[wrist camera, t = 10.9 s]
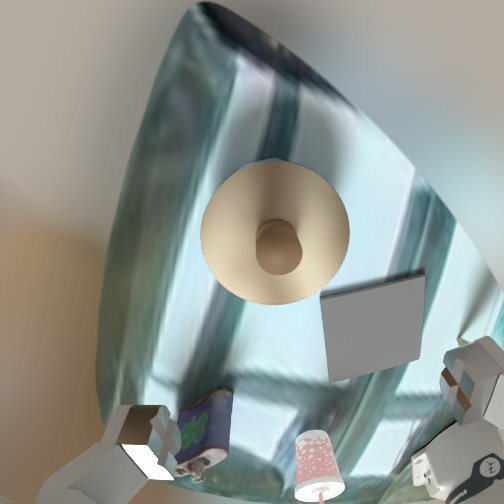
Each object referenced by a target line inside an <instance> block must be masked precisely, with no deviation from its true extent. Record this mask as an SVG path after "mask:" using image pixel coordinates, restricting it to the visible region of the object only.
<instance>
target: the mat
mask: <svg viewBox="0 0 504 504" xmlns="http://www.w3.org/2000/svg"><path fill="white" fill-rule="evenodd" d="M424 297H425V275H424V274H423V273H422V274H418V275H414V276H411V277H407V278H403V279H399V280H394V281H390V282H386V283H382V284H378V285H374V286H369V287H365V288H361V289H356V290H352V291H347V292H343V293H338V294H333V295H329V296H324V297H320V304H321V312H322V320H323V328H324V337H325V346H326V355H327V364H328V374H329V381H330V383H332V382H337V381H341V380H345V379H350V378H354V377H358V376H362V375H366V374H370V373H373V372H377V371H381V370H384V369H388V368H391V367H395V366H398V365H402V364H405V363H408V362H411V361H415V360H418V359H419V356H420V348H421V338H422V327H423V314H424Z"/></svg>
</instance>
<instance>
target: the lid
mask: <svg viewBox="0 0 504 504" xmlns="http://www.w3.org/2000/svg"><path fill="white" fill-rule="evenodd" d="M349 235H350V230H349V220H348V216H347V212H346V209H345V206H344V204H343V202H342V200H341V198H340V196H339V195H338V194H337V192H336V191H335V189H334V188H333V187H332V186H331V185H330V184H329V183H328V182H327V181H326V180H325V179H323V178H322V177H321V176H320V175H318V174H316V173H315V172H313V171H311V170H310V169H308V168H306V167H303V166H301V165H298V164H294V163H291V162H284V161H267V162H260V163H256V164H253V165H249V166H247V167H245V168H243V169H240V170H239V171H237V172H236V173H234V174H232V175H231V176H230V177H229V178H227V179H226V180H225V181H224V182H223V183H222V184H221V185H220V186H219V187H218V189H217V190H216V191H215V193H214V194H213V196H212V197H211V198H210V200H209V202H208V204H207V206H206V209H205V212H204V214H203V218H202V223H201V232H200V238H201V247H202V251H203V255H204V258H205V261H206V263H207V265H208V267H209V269H210V271H211V272H212V273H213V275H214V276H215V278H216V279H217V280H218V281H219V282H220V283H221V284H222V285H223V286H224V287H225V288H227V289H228V290H229V291H230V292H232V293H234V294H235V295H237V296H239V297H241V298H243V299H245V300H248V301H251V302H254V303H259V304H266V305H282V304H289V303H293V302H297V301H300V300H302V299H305V298H307V297H309V296H311V295H313V294H315V293H316V292H318V291H319V290H320V289H322V288H323V287H324V286H325V285H326V284H327V283H329V282H330V280H331V279H332V278H333V277H334V276H335V274H336V273H337V271H338V270H339V268H340V267H341V265H342V263H343V261H344V258H345V256H346V253H347V249H348V244H349Z"/></svg>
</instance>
